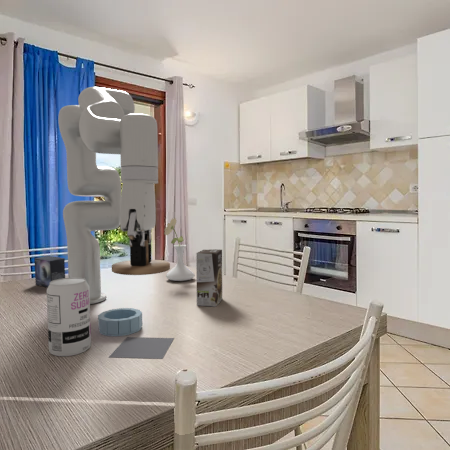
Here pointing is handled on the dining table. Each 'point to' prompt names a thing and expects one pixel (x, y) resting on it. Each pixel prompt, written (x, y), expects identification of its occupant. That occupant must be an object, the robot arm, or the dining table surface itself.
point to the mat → (142, 348)
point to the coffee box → (209, 277)
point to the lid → (149, 268)
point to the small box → (49, 270)
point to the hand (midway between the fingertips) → (141, 263)
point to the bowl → (120, 321)
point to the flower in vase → (178, 258)
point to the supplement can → (68, 316)
